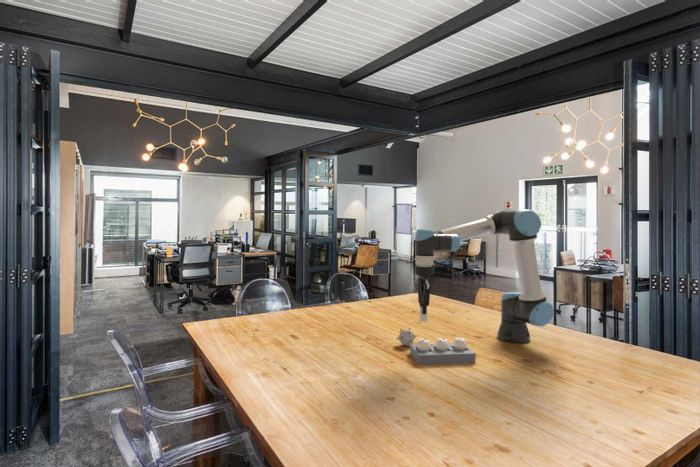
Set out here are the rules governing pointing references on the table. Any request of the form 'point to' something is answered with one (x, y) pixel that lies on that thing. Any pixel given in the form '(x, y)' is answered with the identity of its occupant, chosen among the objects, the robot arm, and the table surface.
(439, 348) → the button
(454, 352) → the button board
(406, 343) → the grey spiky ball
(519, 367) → the table surface
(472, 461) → the table surface
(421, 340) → the button
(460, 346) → the button
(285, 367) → the table surface
